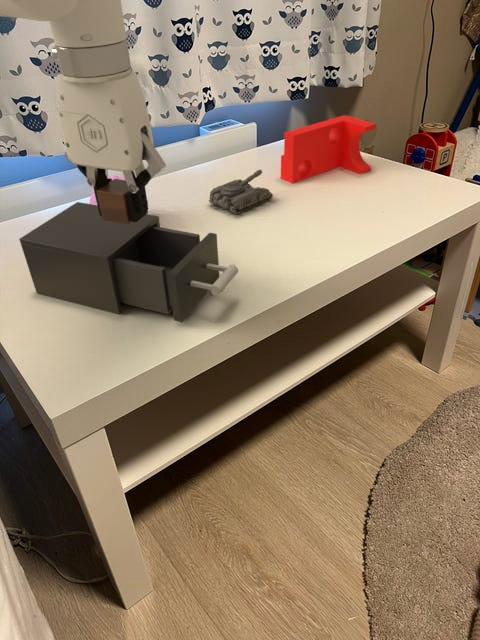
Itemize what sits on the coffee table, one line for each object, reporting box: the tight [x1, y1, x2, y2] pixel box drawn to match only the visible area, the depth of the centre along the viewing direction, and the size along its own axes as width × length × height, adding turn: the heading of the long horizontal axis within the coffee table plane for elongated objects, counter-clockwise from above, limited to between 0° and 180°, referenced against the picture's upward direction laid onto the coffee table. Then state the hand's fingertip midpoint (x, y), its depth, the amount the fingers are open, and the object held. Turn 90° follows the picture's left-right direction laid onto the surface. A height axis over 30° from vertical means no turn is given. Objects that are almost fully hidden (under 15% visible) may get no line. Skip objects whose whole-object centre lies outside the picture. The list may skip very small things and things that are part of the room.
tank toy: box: [208, 169, 274, 215], centre depth 105 cm, size 12×10×5 cm
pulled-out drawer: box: [112, 226, 239, 323], centre depth 77 cm, size 19×12×8 cm, turn 66°
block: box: [97, 179, 132, 225], centre depth 67 cm, size 4×4×4 cm
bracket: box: [280, 114, 377, 184], centre depth 114 cm, size 18×10×10 cm
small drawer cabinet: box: [19, 201, 161, 315], centre depth 82 cm, size 16×14×10 cm
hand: (124, 213), depth 68 cm, fingers closed on block, 4 cm apart
